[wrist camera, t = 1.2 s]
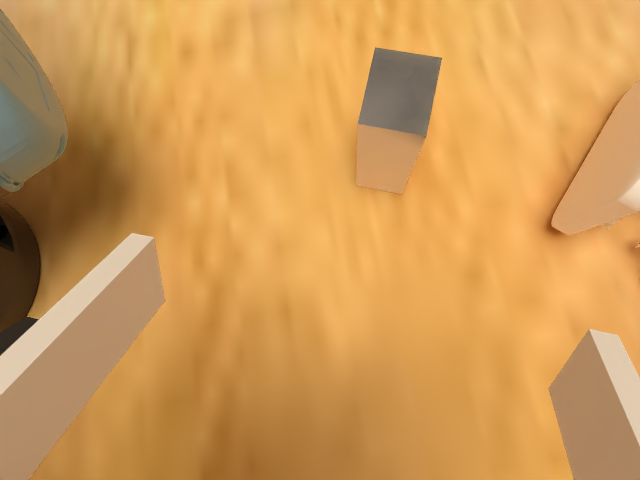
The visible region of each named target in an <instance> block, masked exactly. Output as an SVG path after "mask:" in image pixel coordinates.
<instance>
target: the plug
mask: <svg viewBox="0 0 640 480" xmlns="http://www.w3.org/2000/svg"><path fill="white" fill-rule="evenodd" d="M441 60H442V58H439V57H432V56H426V55H420V54H413V53H407V52H400V51H394V50H388V49H381V48H375V51H374V55H373V60H372V64H371V68H370V73H369V77H368V82H367V86H366V90H365V95H364V99H363V104H362V108H361V112H360V117H359V121H358V139H357V176H356V186H361V187H366V188H371V189H376V190H381V191H386V192H392V193H397V194H402V193H403V191H404V188H405V186H406V184H407V181H408V179H409V176H410V174H411V172H412V169H413V167H414V164H415V162H416V160H417V157H418V155H419V152H420V150H421V147H422V145H423V143H424V140H425V138H426V135H427V130H428V125H429V120H430V115H431V110H432V105H433V100H434V95H435V90H436V85H437V80H438V75H439V70H440V65H441Z"/></svg>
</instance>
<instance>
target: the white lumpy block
mask: <svg viewBox="0 0 640 480" xmlns="http://www.w3.org/2000/svg"><path fill="white" fill-rule="evenodd" d="M638 211H640V80H639V81H637V82H636V83H635V84H634V85H633V86H632V87H631V88H630V89H629V90H628V91H627V92H626V94H625V95H624V96H623V97H622V99H621V100H620V101H619V103H618V104H617V106H616V107H615V109H614V110H613V112H612V114H611V115H610V117H609V119H608V121H607V122H606V124H605V126H604V127H603V129H602V131H601V133H600V134H599V136H598V138H597V140H596V141H595V143H594V145H593V146H592V148H591V150H590V152H589V153H588V155H587V157H586V158H585V160H584V162H583V164H582V165H581V167H580V169H579V171H578V172H577V174H576V176H575V177H574V179H573V181H572V183H571V184H570V186H569V188H568V190H567V191H566V193H565V195H564V196H563V198H562V200H561V202H560V203H559V205H558V207H557V209H556V211H555V213H554V215H553V218H552V222H551V225H552V227H554V228H555V229H557V230H559V231H561V232H563V233H564V234H566V235H568V236H570V235H574V234H576V233H579V232H582V231H585V230H588V229H591V228H593V227H596V226H599V225H602V224H603V225H602V226H605V225H607V229H608V228H609V227H610V226H611V225H612V224H613V223H614V222H616V221H619V220H621V218H622V217H625V216H627V215H630V214H633V213H636V212H638ZM635 247H640V243H639V244H638V245H637V246H635ZM635 247H634V248H635Z"/></svg>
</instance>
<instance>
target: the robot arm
mask: <svg viewBox="0 0 640 480" xmlns="http://www.w3.org/2000/svg"><path fill="white" fill-rule="evenodd" d="M67 142H68V126H67V122H66V118H65V114H64V111H63V109H62V106H61V104H60V101H59V99H58V97H57V95H56V93H55V91H54V89H53V87H52V85H51V83H50V82H49V80H48V78H47V76H46V74H45V73H44V71H43V69H42V68H41V66H40V64H39V63H38V61H37V60H36V58H35V57H34V55H33V53H32V52H31V50H30V49H29V47H28V46H27V44H26V43H25V41H24V40H23V39H22V37H21V36H20V34H19V33H18V32H17V30H16V29H15V27H14V26H13V25H12V23H11V22H10V21H9V19H8V18H7V17H6V15H5V14H4V13H3V11H2V10H1V9H0V197H2V196H4V195H5V194H7V193H9V192H16V191H18V190H20V189H21V188H22V187H23V186H24V182H25V181H26V180H28V179H29V178H31V177H32V176H34V175H35V174H37V173H38V172H40V171H41V170H43V169H44V168H46V167H47V166H49V165H50V164H52V163H53V162H55V161H56V160H57V159H58V158H59V157H60V156H61V155H62V154H63V152H64V151H65V148H66V146H67ZM39 272H40V260H39V251H38V247H37V243H36V240H35V237H34V235H33V233H32V230H31V229H30V227H29V225H28V224H27V222H26V221H25V220H24V218H23V217H22V216H21V215H20V214H19V213H18V212H17V211H16V210H14V209H13V208H12V207H10V206H9V205H7V204H5V203H4V202H1V201H0V480H28V479H29V478H30V477H31V475H32V474H33V473H34V471H35V470H36V469H37V468H38V466H39V465H40V464H41V462H42V461H43V460H44V458H45V457H46V456H47V454H48V453H49V452H50V451H51V449H52V448H53V447H54V445H55V444H56V443H57V441H58V440H59V439H60V437H61V436H62V435H63V434H64V432H65V431H66V430H67V428H68V427H69V426H70V424H71V423H72V422H73V420H74V419H75V418H76V416H77V415H78V414H79V413H80V411H81V410H82V409H83V407H84V406H85V405H86V403H87V402H88V401H89V399H90V398H91V397H92V396H93V394H94V393H95V392H96V390H97V389H98V388H99V386H100V385H101V384H102V382H103V381H104V380H105V379H106V377H107V376H108V375H109V373H110V372H111V371H112V369H113V368H114V367H115V365H116V364H117V363H118V361H119V360H120V359H121V358H122V356H123V355H124V354H125V352H126V351H127V350H128V348H129V347H130V346H131V344H132V343H133V342H134V341H135V339H136V338H137V337H138V335H139V334H140V333H141V331H142V330H143V329H144V327H145V326H146V325H147V324H148V322H149V321H150V320H151V318H152V317H153V316H154V314H155V313H156V312H157V310H158V309H159V308H160V306H161V305H162V304H163V303H164V301H165V297H164V291H163V285H162V280H161V274H160V268H159V262H158V256H157V251H156V245H155V239H154V237H150V236H145V235H140V234H136V233H131V234H130V235H129V236H128V237H127V238H126V239H125V240H124V241H123V242H122V243H121V244H119V245H118V246H117V247H116V248H115V249H114V250H113V251H112V252H111V253H110V254H109V255H108V256H107V257H106V258H104V259H103V260H102V261H101V262H100V263H99V264H98V265H97V266H96V267H95V268H94V269H93V270H92V271H91V272H90V273H88V274H87V275H86V276H85V277H84V278H83V279H82V280H81V281H80V282H79V283H78V284H77V285H76V286H75V287H73V288H72V289H71V290H70V291H69V292H68V293H67V294H66V295H65V296H64V297H63V298H62V299H61V300H60V301H58V302H57V303H56V304H55V305H54V306H53V307H52V308H51V309H50V310H49V311H48V312H47V313H46V314H45V315H43V316H42V317H41V318H40V319H39V320H38V319H34V318H30V317H26V318H25V319H24V317H25V316H26V314H27V312H28V310H29V308H30V306H31V304H32V302H33V299H34V296H35V293H36V290H37V286H38V280H39ZM548 389H549V392H550V396H551V399H552V403H553V407H554V410H555V414H556V417H557V421H558V425H559V428H560V432H561V435H562V439H563V442H564V446H565V450H566V453H567V457H568V460H569V464H570V468H571V471H572V475H573V478H574V480H640V378H639V376H638V374H637V372H636V370H635V368H634V366H633V364H632V362H631V360H630V358H629V356H628V354H627V352H626V350H625V348H624V346H623V344H622V342H621V340H620V338H619V336H618V335H615V334H610V333H606V332H601V331H596V330H591V329H589V330H588V331H587V333H586V334H585V336H584V337H583V339H582V340H581V342H580V343H579V344H578V346H577V347H576V349H575V350H574V352H573V353H572V355H571V356H570V358H569V359H568V361H567V362H566V363H565V365H564V366H563V368H562V369H561V371H560V372H559V374H558V375H557V377H556V378H555V380H554V381H553V382H552V384H551V385H550V387H549V388H548Z"/></svg>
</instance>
